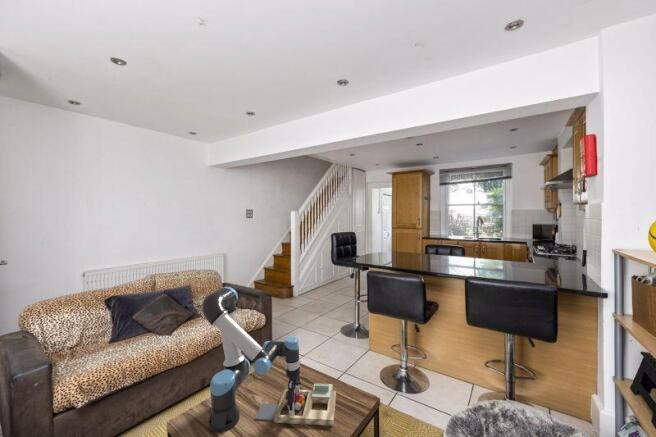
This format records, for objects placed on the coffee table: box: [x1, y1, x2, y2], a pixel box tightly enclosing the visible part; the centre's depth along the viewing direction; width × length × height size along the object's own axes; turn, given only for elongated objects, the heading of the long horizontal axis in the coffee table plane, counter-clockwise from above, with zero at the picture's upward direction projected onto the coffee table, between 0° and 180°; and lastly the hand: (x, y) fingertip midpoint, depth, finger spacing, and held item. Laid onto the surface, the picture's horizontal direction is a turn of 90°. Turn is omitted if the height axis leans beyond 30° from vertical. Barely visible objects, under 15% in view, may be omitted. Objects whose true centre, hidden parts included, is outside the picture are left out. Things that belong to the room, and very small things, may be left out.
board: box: [273, 383, 337, 427], centre depth 151 cm, size 30×27×3 cm
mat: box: [254, 402, 279, 422], centre depth 146 cm, size 11×11×1 cm
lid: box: [312, 383, 332, 398], centre depth 156 cm, size 10×11×4 cm
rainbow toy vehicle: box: [286, 392, 305, 411], centre depth 150 cm, size 8×10×7 cm
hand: (294, 405), depth 148 cm, fingers open, 13 cm apart
